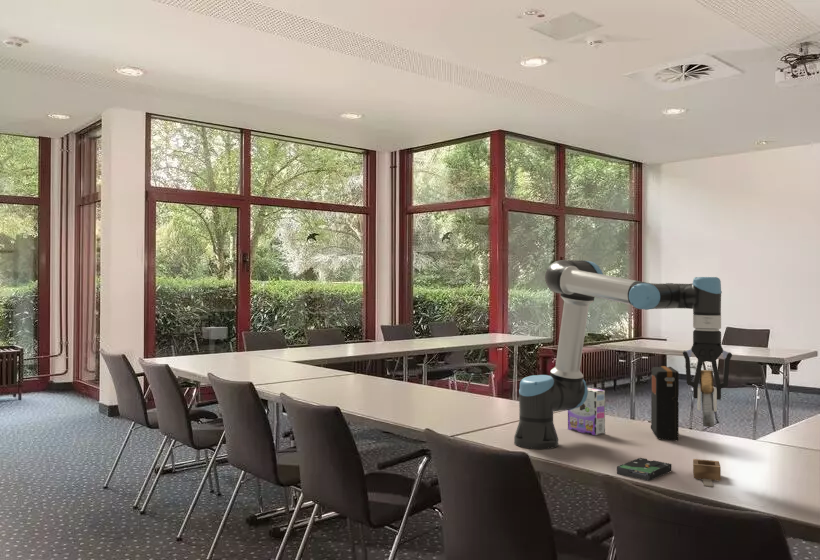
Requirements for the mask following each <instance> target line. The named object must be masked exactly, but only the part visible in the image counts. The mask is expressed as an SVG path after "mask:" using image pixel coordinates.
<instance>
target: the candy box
mask: <svg viewBox="0 0 820 560" xmlns="http://www.w3.org/2000/svg"><path fill="white" fill-rule="evenodd" d="M587 388H588V395H587V398H586V401H585V402H584V403H583V405H581V406H580V407H578V408H574V409H572V410H567V430H570V431H574V432H579V433H583V434H587V435H591V436H599V435H605V434H606V390H605V389H597V388H592V387H587Z"/></svg>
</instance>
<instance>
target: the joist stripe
mask: <svg viewBox="0 0 820 560" xmlns="http://www.w3.org/2000/svg"><path fill="white" fill-rule="evenodd" d="M702 483H703V487H709V488H714V484H713V480H712V479H704V478H703V479H702Z"/></svg>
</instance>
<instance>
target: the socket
mask: <svg viewBox="0 0 820 560" xmlns="http://www.w3.org/2000/svg"><path fill="white" fill-rule="evenodd" d="M721 473H722V471H721V464H720V461H719V460H712V459H710V460H709V459H699V458H693V459H692V474H693V475H692V476H693V479H694V478H696V479H695V480H703V478H704V479H712V481H714V480H716V481H715V482H721V479H722V478H721Z"/></svg>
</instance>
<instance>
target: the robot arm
mask: <svg viewBox="0 0 820 560" xmlns="http://www.w3.org/2000/svg"><path fill="white" fill-rule="evenodd" d="M545 270H546V271H545V274H544V281H545V284H546V286H547V287H548V289H549V290H551V291H552V292H554V293H555V294H559V295H560V298H561V299H562V300H563V306H562V308H563V309H562V316H561V321H560V322H561V323H560V329H559V330H560V331H559V336H558V337H559V338H558V344H557V346H558V347H557V353H556V360H555V366H554V367H553V368H552V369H550V372H549V375H548V374H537V375H536V374H535V375H529V376H525V377H524V378H522V379H521V380H520V381H519V390H518V393H519V395H518V397H519V398H518V399H519V405H518V406H519V409H518V410H519V412H518V413H519V419H518V420H519V422H518V425H517V427H516V429H515V430H516V431H515V433H514V438H513V443H514V445H515V446H517V447H521V448H526V449H535V450H536V449H537V450H539V449H540V450H544V449H545V450H547V449H548V450H549V449H554V448H556V447H558V446H559V437H558V433H557V430H556V427H555V423H554V413H555V412H562V411H568V410H572V409H574V408H578V407H580V406H581V405H583V403H584V402H585V401H586V398H587V395H588V388H589V387H588V385H587V383H586V381H585V379H584V374H583V373H582V371H581V364H582V363H581V362H582V356H583V349H584V342H585V335H586V328H587V321H588V314H589V313H588V312H589V308H590V307H589V306H590V305H591V304H592V303H593V302H594V301H595V298H597V299H602V300H607V301H611V302H617V303H619V304H620V303H621V304H625V305H629V306H633V308H635V309H637V310H646V311H647V310H659V309H660V310H662V309H690V310H692V327H693V329H694V330H693V331H692V345H691V348H690V349H688V350H687V349H686V350H683V351H682V355H683V357H684V362H685V375H686V376H685V377H686V384H687V385H688V386H691V387H692V389H693V390H692V393H693V394H692V397H693V399H696V400H697V401H696V402H697V403H696V405H697V406H696V408H697V409H696V410H697V411H700V412H702V411H701V410H702V408H701V407H702V392H701V388H700V386H699V384H700V373H701V370H702V369H703V363H705V362H709V363H711V368H712V371H713V379H714V382H715V387H714V392H713V409H714V413H715V412H717V410H718V409H717V407H718V405H717V404H718V402H717V401H718V400H721V399H722V389H723V388H727V387H729V372H730V361H731V359H732V357H733V354H732V353H731V352H730V351H729V352H728V351H726V350H724V348H723V347H722V332H721V330H720V329H722V311H721V310H722V294H723V292H722V281H721V279H720V277H717V276H695V277H694V278H693V281H692V283H672V282H668V283H667V282H666V283H652V282H646V281H640V280H633V279H629V278H623V277H617V276H612V275H608V274H604V273H603V270H602V269H601V268H600V266H599V265H598V264H597V263H595V262H594V261H590V260H583V259H581V260H578V259H570V260H565V259H559V260H556V261H554V262H552V263H550V265H549V266H548V267H547V269H545ZM692 354H693V355H694V356H695V357H696V358H697V364H696V368H695V373H694V378H693V380H692V375H691V373H692V371H691V360H690V358H691V357H692ZM721 355H722V357H723V359H724V360H723V373H722V374H723V376H722V382H721V379H720V375H719V374H720V373H719V370H718V365H717V360H718V359H719V357H720V356H721Z"/></svg>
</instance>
